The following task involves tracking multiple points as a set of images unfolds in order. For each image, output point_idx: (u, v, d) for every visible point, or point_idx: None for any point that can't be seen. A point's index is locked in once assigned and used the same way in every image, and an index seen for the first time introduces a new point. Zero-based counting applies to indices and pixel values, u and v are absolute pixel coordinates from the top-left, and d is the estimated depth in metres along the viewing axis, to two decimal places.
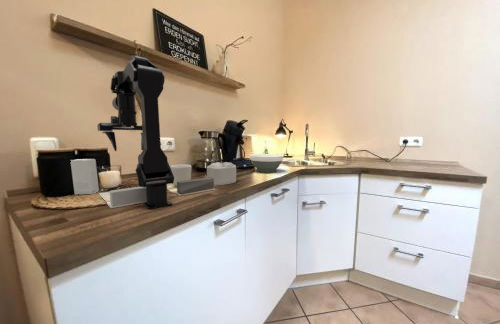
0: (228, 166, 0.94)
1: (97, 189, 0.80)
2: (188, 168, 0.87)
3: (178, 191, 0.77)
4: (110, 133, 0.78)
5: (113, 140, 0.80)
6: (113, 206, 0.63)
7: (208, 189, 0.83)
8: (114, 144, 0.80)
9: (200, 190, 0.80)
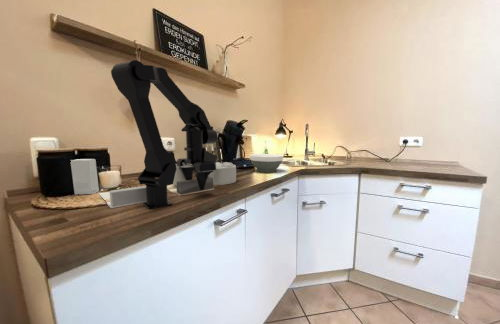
0: (228, 166, 0.94)
1: (97, 189, 0.80)
2: None
3: (178, 191, 0.77)
4: (180, 169, 0.83)
5: (183, 175, 0.83)
6: (113, 206, 0.63)
7: (208, 189, 0.83)
8: (185, 179, 0.83)
9: (200, 190, 0.81)
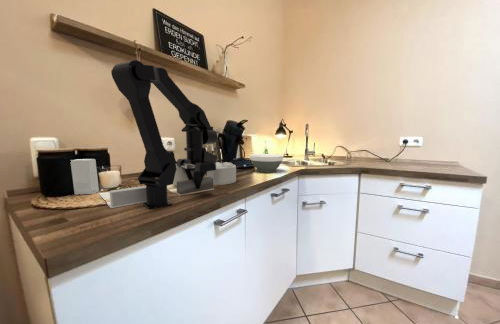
0: (228, 166, 0.94)
1: (97, 189, 0.80)
2: None
3: (178, 191, 0.77)
4: (183, 170, 0.81)
5: (187, 176, 0.81)
6: (113, 206, 0.63)
7: (208, 189, 0.83)
8: None
9: (200, 190, 0.81)
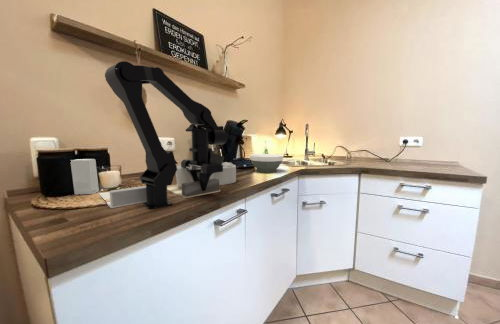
0: (228, 166, 0.94)
1: (97, 189, 0.80)
2: None
3: (183, 193, 0.74)
4: (188, 171, 0.78)
5: (192, 178, 0.78)
6: (113, 206, 0.63)
7: (214, 191, 0.80)
8: None
9: (205, 192, 0.78)
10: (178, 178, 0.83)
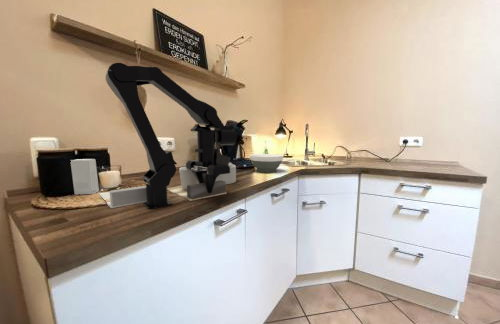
0: None
1: (97, 189, 0.80)
2: None
3: (188, 195, 0.71)
4: (194, 172, 0.75)
5: (198, 180, 0.75)
6: (113, 206, 0.63)
7: (220, 193, 0.77)
8: None
9: (211, 194, 0.75)
10: (183, 180, 0.81)
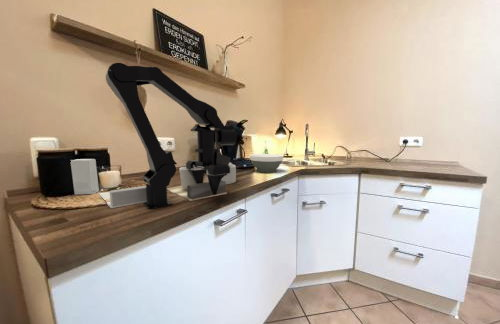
0: None
1: (97, 189, 0.80)
2: None
3: (188, 196, 0.71)
4: (190, 171, 0.77)
5: (194, 179, 0.77)
6: (113, 206, 0.63)
7: (220, 193, 0.77)
8: (196, 183, 0.77)
9: (212, 194, 0.75)
10: (183, 180, 0.80)
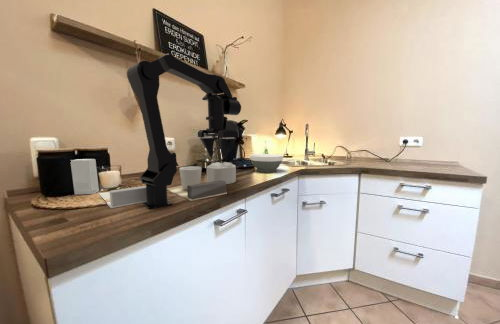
0: (228, 166, 0.94)
1: (97, 189, 0.80)
2: (198, 170, 0.81)
3: (189, 196, 0.71)
4: (201, 139, 0.84)
5: (205, 146, 0.84)
6: (113, 206, 0.63)
7: (220, 193, 0.77)
8: None
9: (212, 194, 0.74)
10: (183, 180, 0.80)
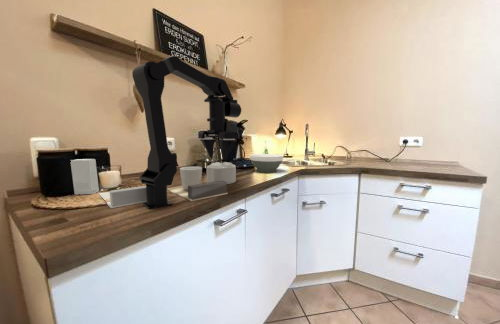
0: (228, 166, 0.94)
1: (97, 189, 0.80)
2: (199, 171, 0.81)
3: (189, 196, 0.71)
4: (202, 140, 0.85)
5: (205, 147, 0.85)
6: (113, 206, 0.63)
7: (221, 193, 0.76)
8: (207, 151, 0.86)
9: (212, 195, 0.74)
10: (183, 180, 0.80)
